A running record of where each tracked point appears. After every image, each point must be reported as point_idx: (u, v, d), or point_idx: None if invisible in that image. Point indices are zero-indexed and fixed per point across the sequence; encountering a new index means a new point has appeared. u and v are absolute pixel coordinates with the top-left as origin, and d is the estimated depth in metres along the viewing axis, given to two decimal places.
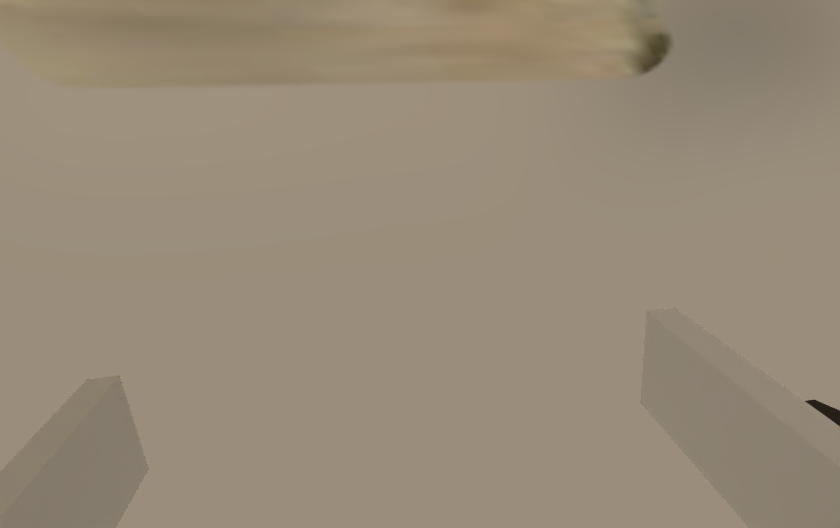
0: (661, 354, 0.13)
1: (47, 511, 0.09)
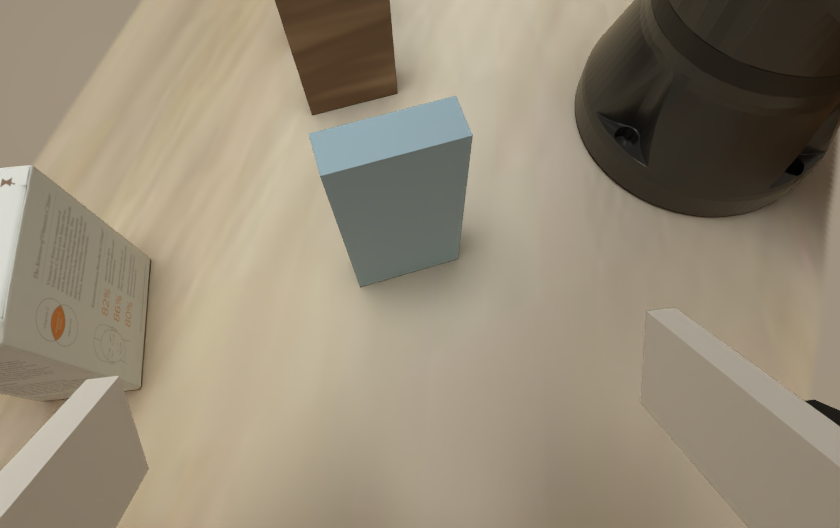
0: (661, 354, 0.13)
1: (47, 511, 0.09)
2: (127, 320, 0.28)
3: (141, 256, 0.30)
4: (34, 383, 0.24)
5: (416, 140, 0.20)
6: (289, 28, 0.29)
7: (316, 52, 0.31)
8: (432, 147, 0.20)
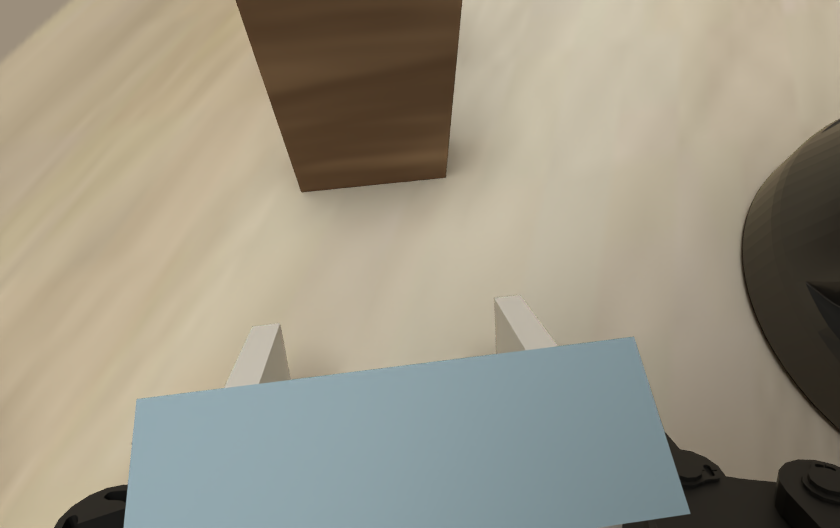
0: (502, 335, 0.14)
1: None
2: None
3: None
4: None
5: (489, 498, 0.06)
6: (262, 49, 0.15)
7: (313, 98, 0.17)
8: None
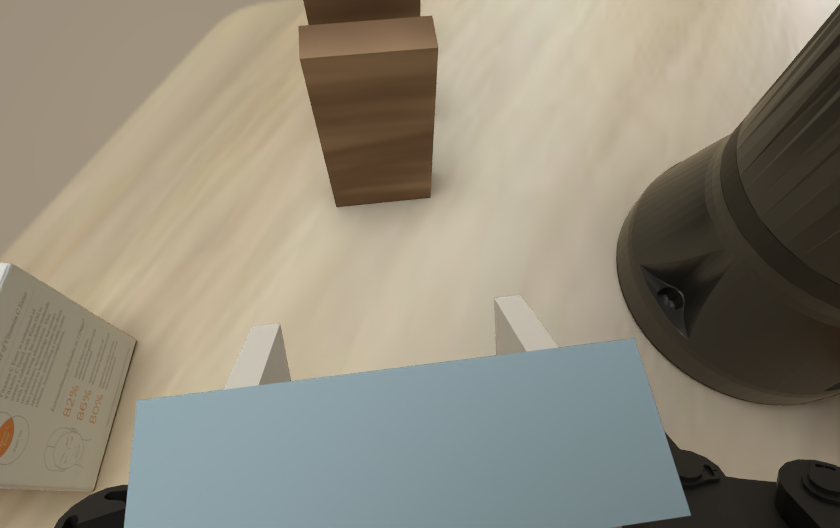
0: (502, 335, 0.14)
1: None
2: (93, 416, 0.26)
3: (125, 340, 0.28)
4: None
5: (490, 500, 0.06)
6: (323, 130, 0.27)
7: (349, 154, 0.29)
8: None
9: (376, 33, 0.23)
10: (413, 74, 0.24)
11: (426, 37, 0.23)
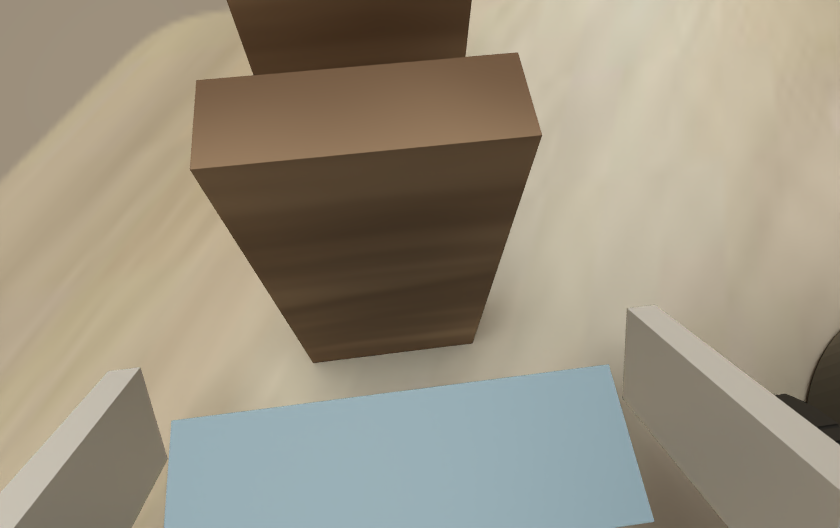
0: (641, 350, 0.13)
1: (76, 496, 0.10)
2: None
3: None
4: None
5: (480, 508, 0.07)
6: (273, 282, 0.13)
7: (330, 307, 0.15)
8: None
9: (386, 97, 0.09)
10: (472, 189, 0.10)
11: (510, 108, 0.09)
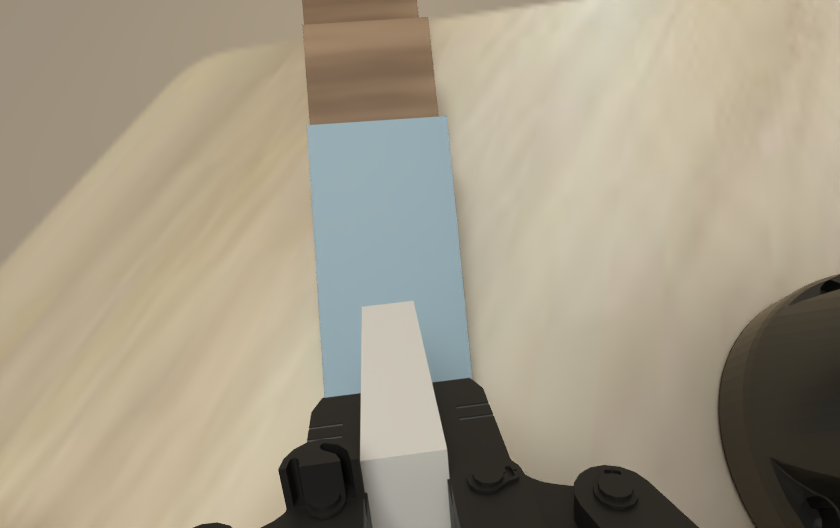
0: None
1: None
2: None
3: None
4: None
5: None
6: (315, 119, 0.24)
7: None
8: (409, 120, 0.23)
9: None
10: (408, 46, 0.25)
11: None
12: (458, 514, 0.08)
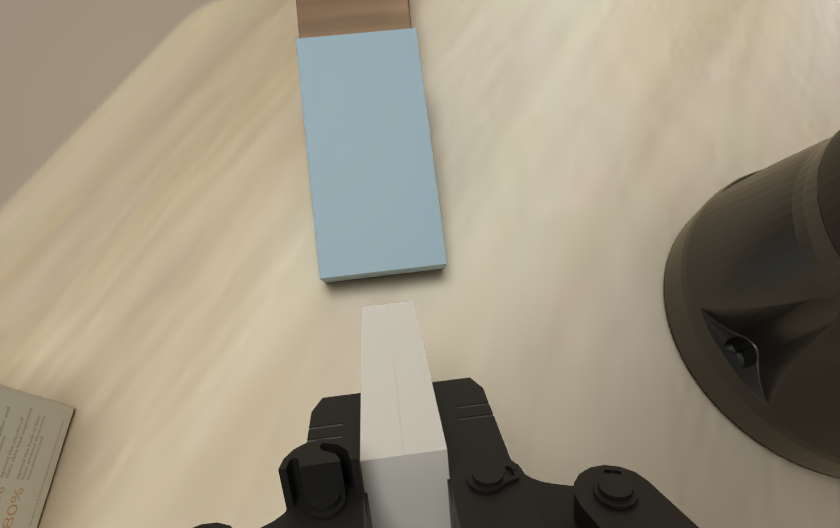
0: None
1: None
2: (8, 519, 0.20)
3: (58, 412, 0.22)
4: None
5: None
6: (304, 36, 0.28)
7: None
8: (384, 32, 0.26)
9: None
10: None
11: None
12: (458, 514, 0.08)
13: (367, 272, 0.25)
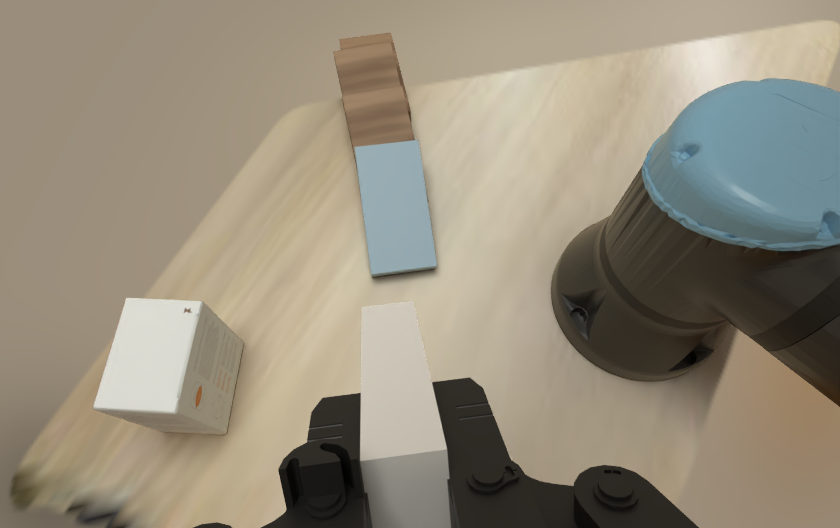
0: None
1: None
2: (227, 389, 0.43)
3: (239, 343, 0.45)
4: (170, 426, 0.39)
5: None
6: (354, 141, 0.51)
7: None
8: (401, 142, 0.49)
9: None
10: (394, 101, 0.52)
11: None
12: (458, 514, 0.08)
13: (395, 270, 0.48)
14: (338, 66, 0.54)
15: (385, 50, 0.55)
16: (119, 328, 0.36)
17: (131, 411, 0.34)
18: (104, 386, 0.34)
